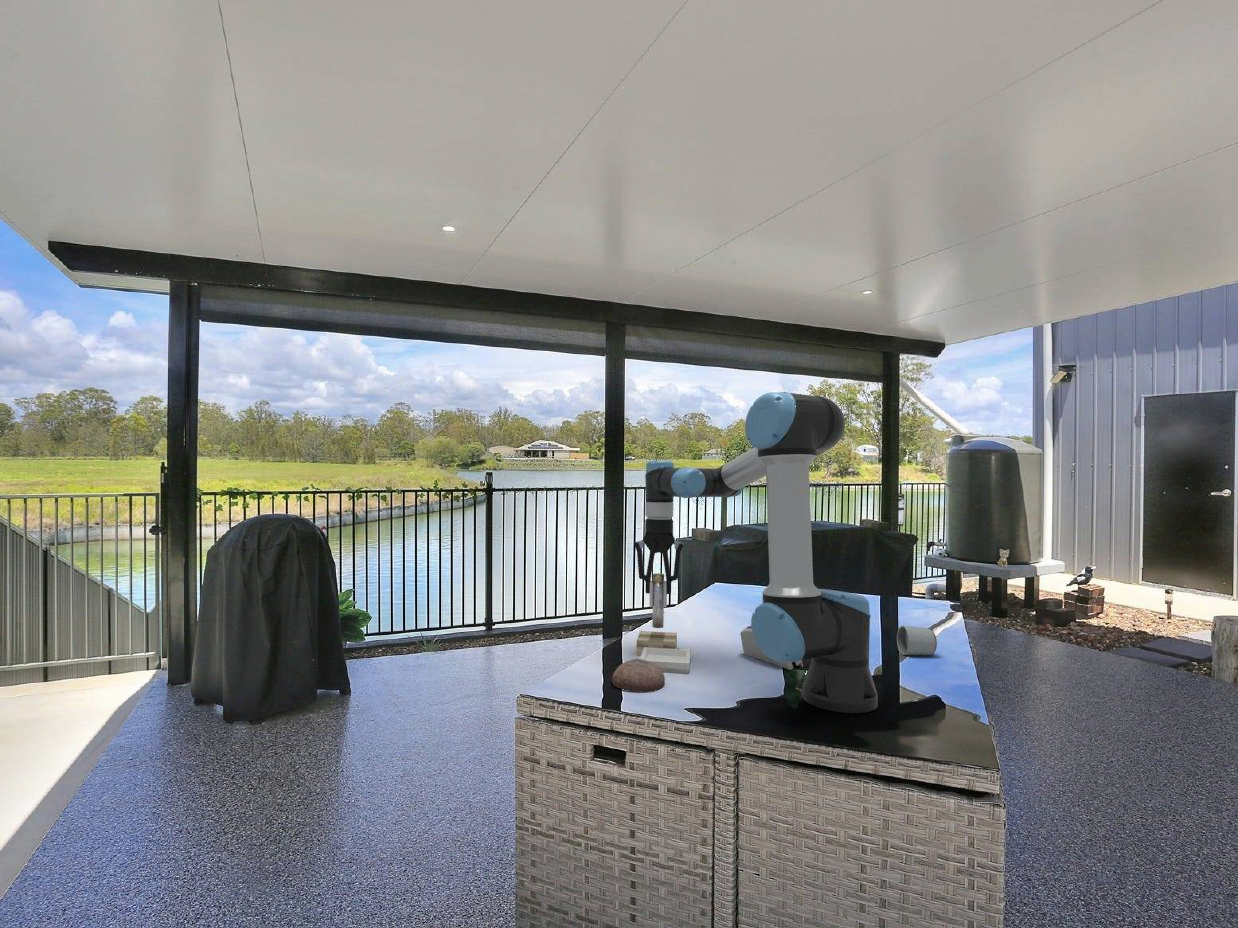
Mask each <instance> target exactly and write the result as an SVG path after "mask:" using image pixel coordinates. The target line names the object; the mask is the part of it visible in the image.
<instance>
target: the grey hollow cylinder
mask: <svg viewBox="0 0 1238 928" xmlns="http://www.w3.org/2000/svg"><path fill="white" fill-rule="evenodd" d="M896 645H897V648H898V651H899V653H900V655H903V656H924V657H925V656H932V655H934V654H935V652H936V651H937V647H938V641H937V635H936V634H935V632H934V631H933V630H932V629H931V628H927V627H923V626H921V627H920V626H910V625H901V626H900V627H899V628H898V630H897V632H896Z"/></svg>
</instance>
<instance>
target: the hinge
mask: <svg viewBox="0 0 1238 928" xmlns="http://www.w3.org/2000/svg"><path fill="white" fill-rule="evenodd" d="M739 635H740V639H741V645H742V651H743V654H744V655H746V656H749V657H753V658H755V659H758V660H761V661H764V662H766V663H770V664H772V665H775V666H777V667H781V668H783V669H786V670H790V671H791V670H793V669H794V666H797V667H798V666H799V667H801V668H803V667H804V664H803V661H802V660H800V661H797V662H777V661H774V660H772V659H770V658H768V657H767V656H766V655H765V654H764V653H763V652H762V650H761V648H760V647H758V645H757V643H756V641H755V639H754V636H753V633H752V628H751V625H749V626H746V628H744V629H743V630H741V632H740V633H739Z"/></svg>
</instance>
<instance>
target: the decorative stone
mask: <svg viewBox="0 0 1238 928" xmlns="http://www.w3.org/2000/svg"><path fill="white" fill-rule="evenodd" d="M665 680H666V678H665V674H664V672H662V671H661V670H660V669H659V668H658V667H657V666H655V665H653V664H652V663H650V662H649V661H647V660H643V659H640V658H633V659H630V660H626V661H624V662H623V663H621V664H620V665H618V667H616V669H615V671H614V672H613V674H612V677H611V682H612V683H613V684H612V686H613V685H614V686H615V687H617V688H621V689H624V690H629V691H628V692H631V691H639V692H638V693H649V692H648V691H652V692H655V690H656V691H658V690H661V689H662V688H664V686H665V683H666V682H665ZM614 686H613V687H614ZM615 687H614V688H615ZM617 688H616V689H617ZM624 690H623V691H624ZM640 691H642V692H640ZM646 691H647V692H646Z"/></svg>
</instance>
